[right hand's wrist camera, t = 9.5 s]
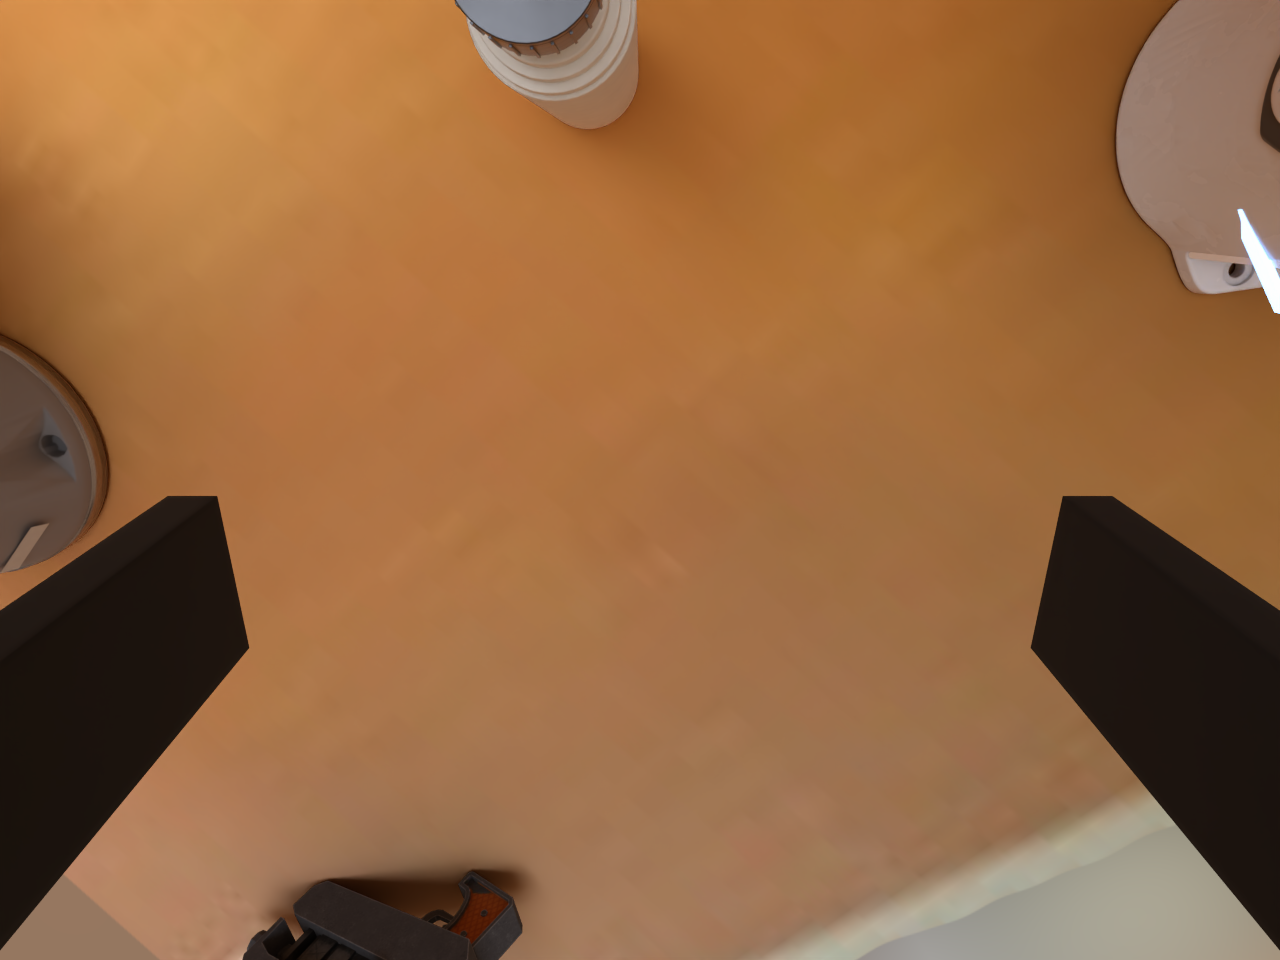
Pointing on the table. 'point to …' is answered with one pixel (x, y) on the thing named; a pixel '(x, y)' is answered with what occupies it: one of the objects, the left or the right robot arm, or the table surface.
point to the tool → (392, 928)
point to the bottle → (576, 69)
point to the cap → (531, 23)
